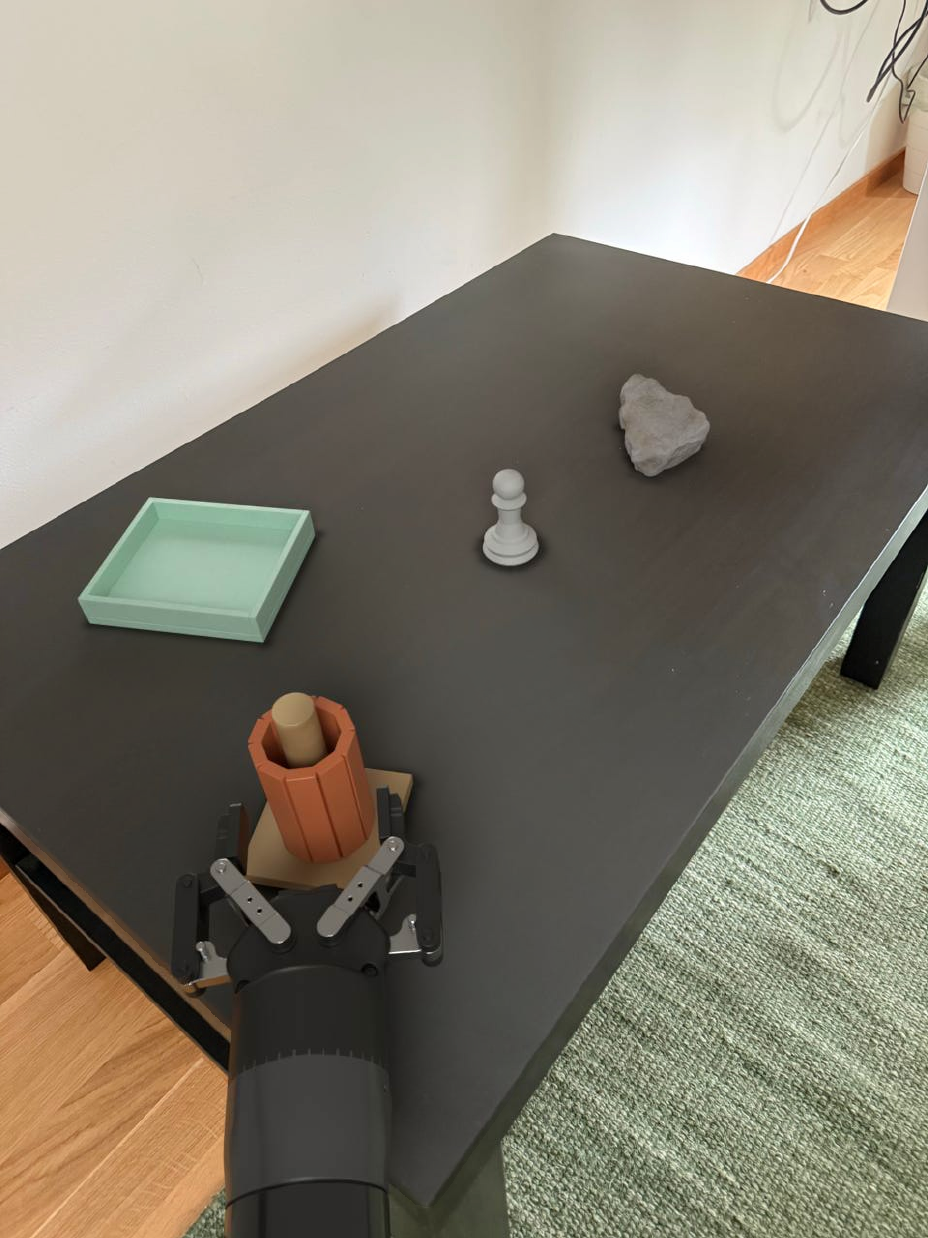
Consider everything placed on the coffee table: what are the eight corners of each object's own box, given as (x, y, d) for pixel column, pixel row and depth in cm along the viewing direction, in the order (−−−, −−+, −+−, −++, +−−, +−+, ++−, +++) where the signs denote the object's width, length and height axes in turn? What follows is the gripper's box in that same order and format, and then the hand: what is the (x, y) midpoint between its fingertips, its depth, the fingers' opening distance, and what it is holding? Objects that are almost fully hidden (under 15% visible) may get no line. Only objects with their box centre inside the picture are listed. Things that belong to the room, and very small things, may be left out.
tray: (89, 623, 76) (77, 599, 74) (158, 521, 85) (148, 497, 83) (263, 643, 73) (255, 618, 71) (315, 535, 82) (310, 510, 80)
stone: (585, 436, 90) (587, 383, 86) (655, 412, 92) (660, 359, 88) (643, 489, 83) (648, 435, 79) (716, 462, 86) (725, 407, 82)
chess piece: (502, 575, 77) (498, 498, 71) (472, 544, 80) (467, 468, 74) (549, 553, 78) (549, 476, 73) (518, 524, 81) (516, 448, 75)
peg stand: (240, 881, 58) (185, 763, 49) (288, 765, 64) (246, 642, 56) (377, 904, 57) (346, 786, 48) (413, 782, 63) (391, 658, 54)
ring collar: (267, 857, 58) (232, 773, 52) (299, 776, 62) (270, 689, 56) (358, 871, 57) (334, 787, 51) (384, 788, 61) (365, 701, 55)
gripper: (454, 1042, 41) (425, 748, 52) (131, 1086, 41) (173, 780, 52) (464, 1099, 46) (436, 821, 58) (179, 1138, 46) (207, 850, 57)
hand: (311, 802), depth 55 cm, fingers open, 8 cm apart
